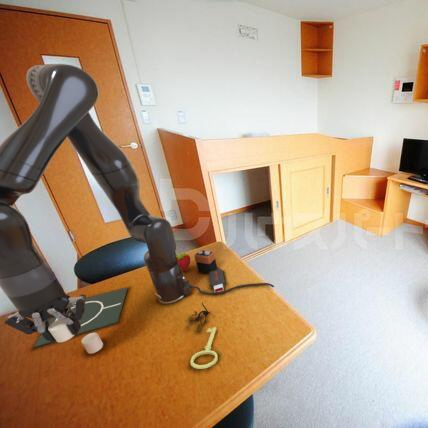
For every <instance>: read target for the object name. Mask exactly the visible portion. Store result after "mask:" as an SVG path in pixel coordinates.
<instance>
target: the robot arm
mask: <svg viewBox="0 0 428 428" xmlns="http://www.w3.org/2000/svg"><path fill="white" fill-rule="evenodd" d="M26 84H27V86H28V88H29V90H30V92H31V94H32V95H33V96H34V98H35V99H36V101H37V102H38V105H37V107H36V108H35V110H34V111H33V112H32V113H31V115H30V116H28V118H27V119H26V120H25V121H24V122H23V123H22V124H21V125H20V126H19V127H17V128H16V129H15V130H13V132H11V133H10V134H9V135H8V136H7V137H6V138H5V139H4V140H3V141H2V142H1V144H0V289H1V290H2V291H3V293H4V294H5V295H6V297H7V298H8V299H9V301H10V303H12V305H13V306H14V307H15V309H16V310H18V311H14V312H13V311H12V312H11V313H10V314H9V315H8V316H7V318H6V319H5V320H4V324H5V325H7V326H9V327H11V328H13V329H15V330H18V331H19V332H22V333H24V334H25V335H33V334H34V333H38V334H40V335H41V334H42V335H43V337H44V338H45V339H46V340H47V341H50V342H53V341H55V338H54V337H53V336H52V334H51V333H50V331H49V330H48V327H49V326H50V325H49V321H50V319H51V318H53V317H56V318H57V319H59V320H60V321H61V320H63V321H64V322H65V323H66V324H68V325H67V327H68V328H69V330H70V331H71V333H72V334H73V335H75V334H77V333H78V331H79V330H80V328H81V324H80V323H79V321H78V320H80V319H81V318H82V316H83V313H84V312H85V300H86V298H87V296H86V294H80V295H79V296H70V295H69V294H67V293H66V292H65V290H64V287H63V286H62V284H61V282H60V281H59V279H58V277H57V276H56V273H55V271H53V269H52V268H51V266H50V265H49V264H48V263H47V262H46V261H45V260H44V258H43V256H42V254H41V253H40V251H39V249H38V248H37V246H36V245H35V244H34V241H33V235H32V232H31V229H30V225H29V222H28V221H27V219H26V217H25V216H24V215H23V213H22V212H21V211H20V210H19V209H18V208H16V207H14V205H15V203H16V202H17V201H18V200H19V198H20V197H21V196H23V195H28V194H30V193H32V192H33V191H34V190H35V189H36V187H37V186H38V184H39V182H40V180H41V179H42V178H43V175H44V173H45V172H46V170H47V168H48V166H50V165H49V164H50V163H51V161H52V160H53V158H54V156H55V154H56V153H57V151H58V150H59V148H60V147H61V146H62V144H63V143H64V141H65V140H66V139H68V141H69V143H70V144H71V145H72V147H73V148H74V150H75V152H76V153H77V154H78V156H79V158H80V159H81V160H82V162H83V163H84V165H85V167H86V168H87V170H88V171H89V173H90V174H91V176H92V177H93V178H94V180H95V182H96V183H97V184H98V186H99V187H100V188H101V190H102V191H103V193H104V194H105V196H106V197H107V199H108V200H109V201H110V203H111V204H112V205H113V207H114V208H115V210H116V211H117V213H118V216H119V217H120V219H121V220H122V223H123V225H124V226H125V229H126V231H127V232H128V234H129V236H130V237H131V238H132V239H133V240H135V241H137V242H140V243H143V244H146V248H147V251H146V252H145V253H144V254H143V261H144V263H145V266H146V269H147V271H148V274H149V276H150V279H151V282H152V285H153V287H154V290H155V291H154V296H157V299H158V302H159V303H160V304H162V305H171V304H174V303H177V302H179V301H181V300H183V298H186V297H187V296H188V295H189V294H191V293H192V289H197V290H198V293H200V294H202V295H206V296H207V295H209V296H213V295H220V294H225V293H228V292H231V291H233V290H235V289H239V288H245V287H252V286H253V287H255V286H269V287H271V288H275V286H274V284H271V283H268V282H260V283H259V282H258V283H245V284H239V285H236V286H233V287H231V288H228V289H224V290H223V291H220V292H215V291H214V292H207V291H206V292H205V291H202V290H201V288H200V287H199V286H197V285H191V283H190V280H186V279H185V276H184V273H183V272H184V271H182V269H181V268H180V266H179V262H178V259H177V257H178V256H176V255H177V253H176V250H177V243H176V239H175V233H174V229H173V226H172V224H171V223H170V221H169V220H168V219H166V218H164V217H160V216H156V215H152V214H151V213H150V212H149V210H148V209H147V207H146V206H145V204H144V203H143V200H142V198H141V194H140V190H141V189H140V187H141V186H140V178H139V176H138V173H137V171H136V169H135V168H134V166H133V164H132V162H131V160H130V159H129V157H128V156H127V155H126V153H125V152H124V151H123V150H122V149H121V148H120V147H119V146H118V145H117V144H116V143H115V142H114V141H113V140H112V139H111V138H110V137H109V136H108V135H107V134H106V133H105V132H104V131H102V129H101V128H100V127H99V126H98V125H97V123H96V122H95V120H94V118H93V117H92V115H91V113H90V111H91V110H92V109H93V108H94V106H95V105H96V104H97V102H98V100H99V96H100V91H99V87H98V85H97V83H96V81H95V79H94V78H93V77H92V76H91V74H90V73H88V72H87V71H86V70H84V69H82V68H80V67H78V66H76V65H72V64H67V63H46V64H37V65H33V66H31V67H30V68H29V69H28V70H27V72H26ZM68 303H72V305H73V306H74V307H76V312H75V313H74V312H73V311H72V310H71V308H70V307H69V306H68ZM53 343H54V342H53Z"/></svg>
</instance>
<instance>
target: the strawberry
mask: <svg viewBox="0 0 428 428" xmlns="http://www.w3.org/2000/svg"><path fill="white" fill-rule="evenodd" d="M178 253H179V254H176V256H177V259H178V262H179V266H180V268H181V269H182V272H187V271H188V269H189V268H190V264H191V257H190V255H189V254H187V253H186V252H183V253H181V252H179V251H178Z"/></svg>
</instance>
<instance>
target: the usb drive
mask: <svg viewBox="0 0 428 428" xmlns="http://www.w3.org/2000/svg"><path fill="white" fill-rule="evenodd" d="M208 275H209V282H210V288H211V290H212V291H214V292H221V291H225V289H224V288H225V287H226V281H225V276H224V272H223V269H222V268H217V269H216V270H214V271H210V272H209V274H208Z"/></svg>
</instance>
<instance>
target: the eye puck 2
mask: <svg viewBox="0 0 428 428" xmlns="http://www.w3.org/2000/svg"><path fill="white" fill-rule="evenodd" d="M80 342H81V345H82V347H84V349H85V351H86V353H87V354H91V355H92V354H95V353H97V352H99V351H100V350H101V349H102V348H103V347H104V343H103V341H102V339H101V338H100V336H99V334H98V333H97V332H91V333H88V334H86V335H85V336H83V337H82V339H81V341H80Z"/></svg>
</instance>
